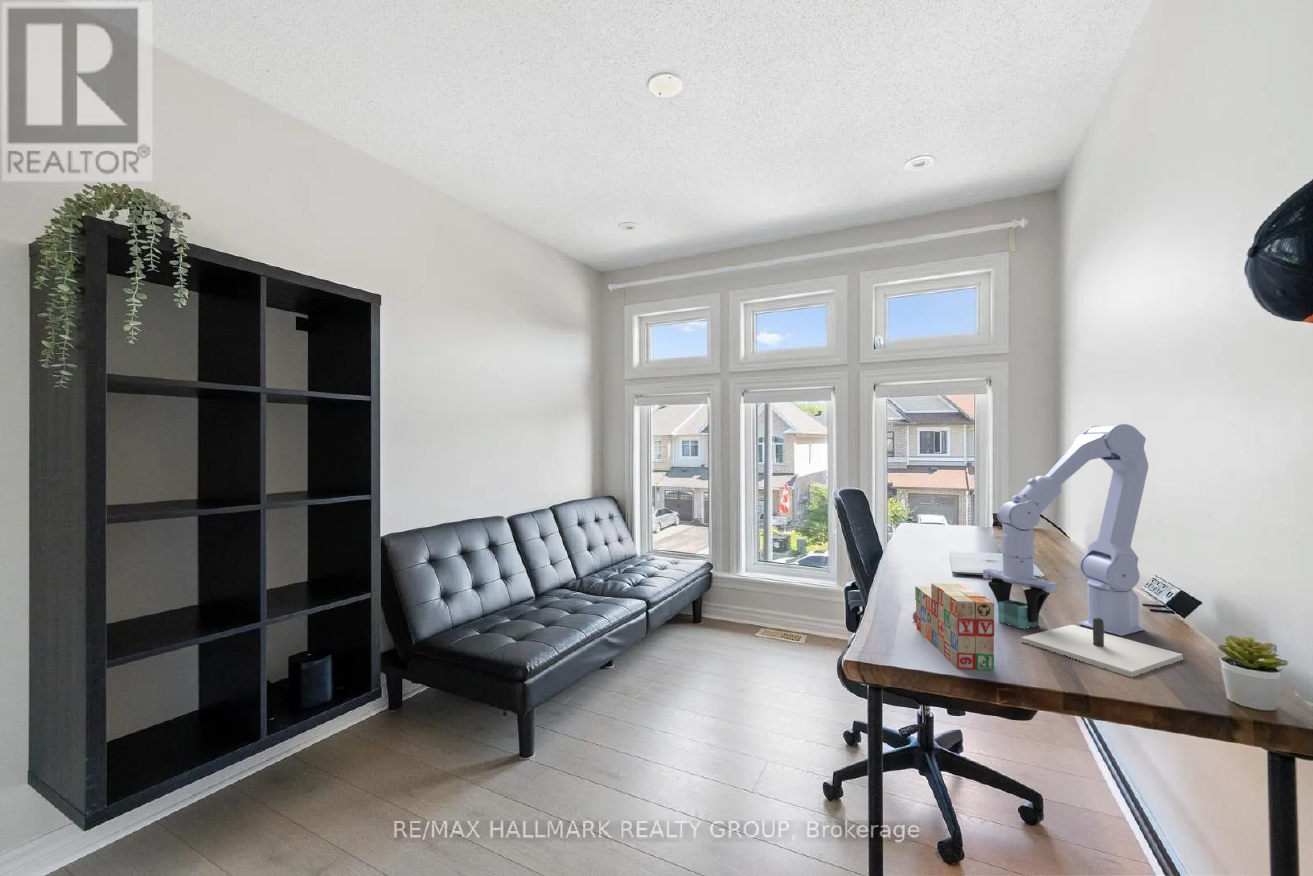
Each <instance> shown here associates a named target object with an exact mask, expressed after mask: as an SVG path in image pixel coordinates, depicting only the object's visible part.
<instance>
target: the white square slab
mask: <svg viewBox="0 0 1313 876" xmlns="http://www.w3.org/2000/svg"><path fill="white" fill-rule="evenodd" d="M1021 641H1025V642H1028V643H1030V644H1032V645H1035V646H1040V647H1043V648H1045V649H1047V650H1051V651H1053V652H1052V653H1054V652H1056V653H1055V654H1057V653H1058V654H1057V655H1060V654H1061V655H1060V656H1063V655H1066V656H1068V657H1067V658H1069V657H1071V658H1070V659H1072V658H1073V659H1072V660H1075V659H1077V661H1079V660H1080V661H1079V662H1082V661H1083V662H1082V663H1085V664H1088V665H1091V664H1092V665H1091V666H1095V667H1097V668H1099V669H1100V668H1101V669H1104V668H1105V669H1104V670H1107V669H1108V670H1107V671H1110V670H1111V672H1113V673H1116V672H1117V674H1119V673H1122V674H1125V675H1128V676H1127V677H1129V676H1131V677H1130V678H1134V677H1133V676H1135V675H1138V674H1141V673H1143V674H1146V673H1148V672H1147V671H1149V672H1151V671H1150V670H1152V671H1154V670H1153V669H1155V668H1158V669H1160V667H1161V666H1164V665H1166V666H1168V665H1167V664H1169V665H1172V664H1175V663H1177V661H1178V662H1180V660H1181V661H1184V654H1183V653H1180V652H1177V651H1176V652H1175V651H1173V650H1168V649H1165V648H1161V647H1156V646H1153V645H1150V644H1147V643H1142V642H1138V641H1135V640H1132V639H1128V638H1124V637H1120V636H1118V635H1117V636H1116V635H1114V634H1110V633H1107V632H1105V631H1104V622H1103V620H1102V619H1101V618H1094V619H1093V628H1090V629H1089V628H1088V627H1084V626H1083V627H1082V626H1081V625H1076V624H1068V625H1063V626H1059V627H1057V628H1053V629H1049V630H1044V631H1040V632H1037V633H1032V634H1028V635H1024V636H1020V642H1021ZM1032 645H1031V646H1032ZM1035 646H1034V647H1035ZM1047 650H1046V651H1047ZM1051 651H1050V652H1051ZM1066 656H1065V657H1066ZM1174 662H1175V663H1174ZM1164 667H1165V666H1164ZM1161 668H1162V667H1161ZM1155 670H1156V669H1155ZM1145 672H1146V673H1145ZM1122 674H1121V675H1122ZM1125 675H1124V676H1125ZM1141 675H1142V674H1141ZM1138 676H1139V675H1138ZM1135 677H1136V676H1135Z"/></svg>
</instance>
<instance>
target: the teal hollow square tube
mask: <svg viewBox="0 0 1313 876" xmlns="http://www.w3.org/2000/svg"><path fill="white" fill-rule="evenodd" d="M997 605H998V609H997V610H998V612H997V613H998V622H999V623H1000V622H1002V623H1001V624H1004V623H1007V624H1010V625H1009V626H1011V625H1013V626H1012V627H1014V626H1016V627H1015V628H1017V627H1022V628H1027V627H1032V628H1036V627H1035V626H1037V627H1040V615H1039V616H1038V620H1037V622H1033V623H1031V622H1029V621H1028V607H1027V601H1024V600H1023V601H1022V600H1020V599H1015V598H1012V599H1011V598H1010V600H1005V601H1000V602H998V603H997ZM1007 624H1006V625H1007Z"/></svg>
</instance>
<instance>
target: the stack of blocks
mask: <svg viewBox="0 0 1313 876" xmlns="http://www.w3.org/2000/svg"><path fill="white" fill-rule="evenodd" d="M914 590H915V592H914V593H915V595H914V596H915V611H916V614H917V615H916V622H915V623H916V629H917V630H918V631H919V632H920V633H921V635H923V636H924V638H926V639H927V640H928V642H930V644H932V645H933V646H934V647H935V648H936V649H937V650H938V651H939V652H940V653H941V654H942V655H943V656H944V657H945V659H946V660H948V661H949V662H950V663H951V665H952V666H954V667H955V669H958V670H972V671H973V670H974V671H990V670H994V671H995V652H994V649H995V648H994V647H995V639H994V637H995V602H993V600H990V599H989V598H987V597H986V596H985V595H984V594H982V593H980V592H978V591H976V590H975V589H973V588H971V587H969V586H967V585H966V584H964V583H939V582H938V583H937V582H931V583H930V586H919V585H917V586H916V585H915V588H914Z"/></svg>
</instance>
